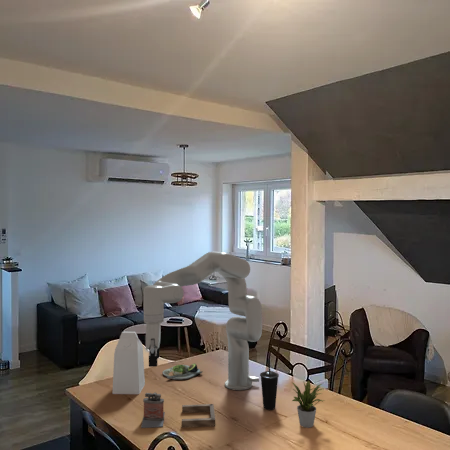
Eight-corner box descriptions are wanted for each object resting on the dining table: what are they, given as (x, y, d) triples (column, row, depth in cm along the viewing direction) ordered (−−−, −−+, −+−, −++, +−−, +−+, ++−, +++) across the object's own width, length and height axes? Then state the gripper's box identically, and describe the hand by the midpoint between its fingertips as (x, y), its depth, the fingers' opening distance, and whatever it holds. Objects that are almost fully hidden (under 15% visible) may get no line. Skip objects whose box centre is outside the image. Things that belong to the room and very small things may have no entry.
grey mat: (164, 413, 179) (164, 412, 179) (162, 427, 167) (162, 426, 167) (144, 413, 178) (144, 412, 178) (141, 427, 166) (141, 426, 166)
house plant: (334, 433, 162) (334, 388, 161) (297, 436, 160) (297, 390, 159) (319, 416, 176) (319, 374, 176) (285, 418, 174) (285, 376, 173)
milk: (144, 384, 209) (144, 328, 209) (139, 394, 198) (139, 335, 197) (119, 384, 210) (118, 328, 209) (112, 393, 198) (111, 335, 198)
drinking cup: (278, 412, 179) (277, 362, 179) (258, 410, 181) (258, 361, 180) (279, 404, 187) (279, 356, 186) (261, 403, 188) (261, 355, 188)
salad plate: (179, 385, 209) (179, 375, 209) (153, 377, 220) (153, 367, 220) (206, 374, 224) (206, 364, 224) (181, 366, 235) (181, 357, 235)
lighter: (165, 417, 174) (164, 392, 174) (162, 421, 170) (162, 395, 170) (145, 416, 175) (144, 390, 175) (142, 420, 172) (142, 394, 171)
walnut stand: (213, 410, 181) (213, 404, 181) (215, 426, 167) (215, 419, 167) (182, 411, 180) (182, 405, 180) (181, 427, 166) (181, 420, 166)
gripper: (146, 313, 181) (146, 355, 181) (141, 323, 163) (141, 370, 164) (164, 312, 181) (165, 354, 182) (162, 323, 164) (162, 369, 164)
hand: (154, 362), depth 173 cm, fingers open, 9 cm apart
